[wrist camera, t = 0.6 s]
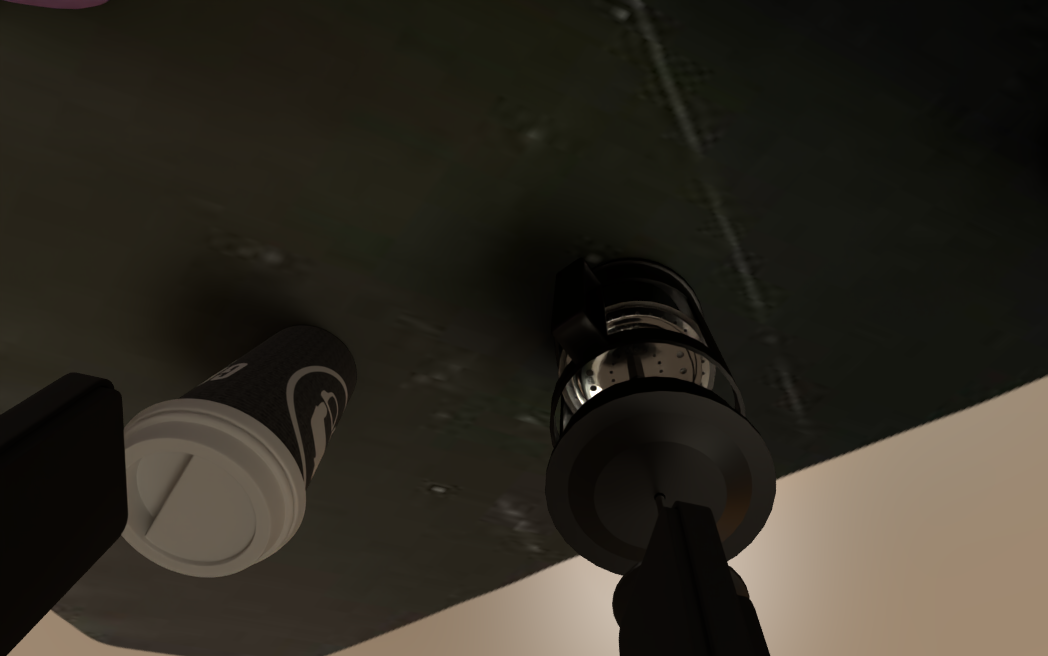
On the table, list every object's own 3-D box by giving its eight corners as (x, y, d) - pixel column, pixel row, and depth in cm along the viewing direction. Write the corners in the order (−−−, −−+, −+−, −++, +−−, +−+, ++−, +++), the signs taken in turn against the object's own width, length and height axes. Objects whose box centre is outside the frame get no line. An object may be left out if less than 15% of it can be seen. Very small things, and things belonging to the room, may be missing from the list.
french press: (737, 353, 41) (909, 664, 20) (613, 426, 44) (648, 769, 22) (634, 204, 38) (706, 384, 17) (507, 292, 41) (432, 543, 19)
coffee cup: (319, 276, 41) (189, 385, 27) (407, 392, 44) (329, 543, 30) (211, 346, 44) (43, 478, 30) (301, 451, 46) (184, 617, 33)
